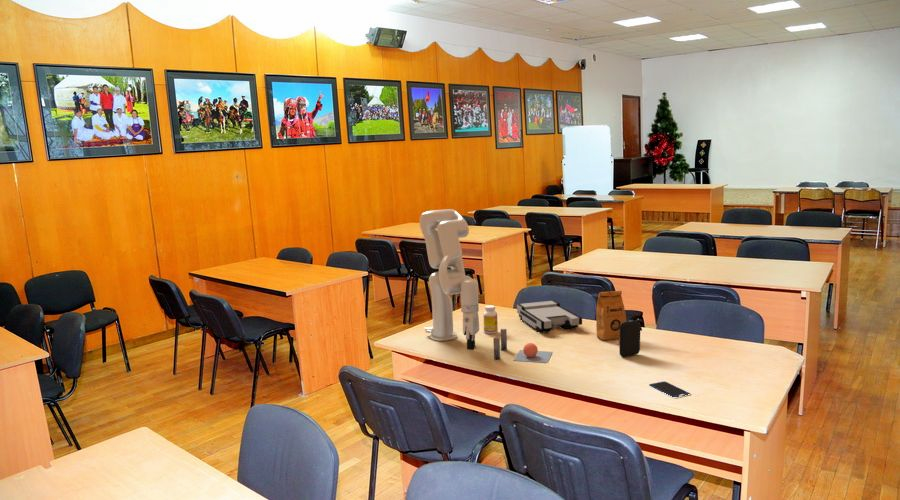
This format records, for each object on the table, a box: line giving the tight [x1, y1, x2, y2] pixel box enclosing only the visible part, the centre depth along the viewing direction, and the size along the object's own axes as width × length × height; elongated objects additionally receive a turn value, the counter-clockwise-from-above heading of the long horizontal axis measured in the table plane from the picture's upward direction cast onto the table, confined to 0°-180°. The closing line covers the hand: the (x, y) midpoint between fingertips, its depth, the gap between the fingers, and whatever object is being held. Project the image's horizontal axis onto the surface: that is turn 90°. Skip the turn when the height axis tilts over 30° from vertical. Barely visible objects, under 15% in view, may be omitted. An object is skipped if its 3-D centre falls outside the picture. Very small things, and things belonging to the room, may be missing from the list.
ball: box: [522, 342, 539, 358], centre depth 254 cm, size 6×6×6 cm
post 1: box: [492, 336, 501, 361], centre depth 253 cm, size 3×3×9 cm
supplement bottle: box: [482, 304, 499, 335], centre depth 292 cm, size 7×7×13 cm
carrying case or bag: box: [618, 319, 643, 358], centre depth 251 cm, size 11×3×15 cm, turn 111°
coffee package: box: [595, 290, 627, 341], centre depth 275 cm, size 10×12×22 cm
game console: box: [516, 300, 583, 334], centre depth 301 cm, size 21×32×8 cm, turn 14°
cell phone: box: [648, 381, 691, 398], centre depth 215 cm, size 7×14×1 cm, turn 21°
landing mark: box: [513, 349, 553, 364], centre depth 255 cm, size 14×14×1 cm
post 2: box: [500, 328, 508, 352], centre depth 265 cm, size 3×3×9 cm
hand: (471, 349), depth 263 cm, fingers closed
